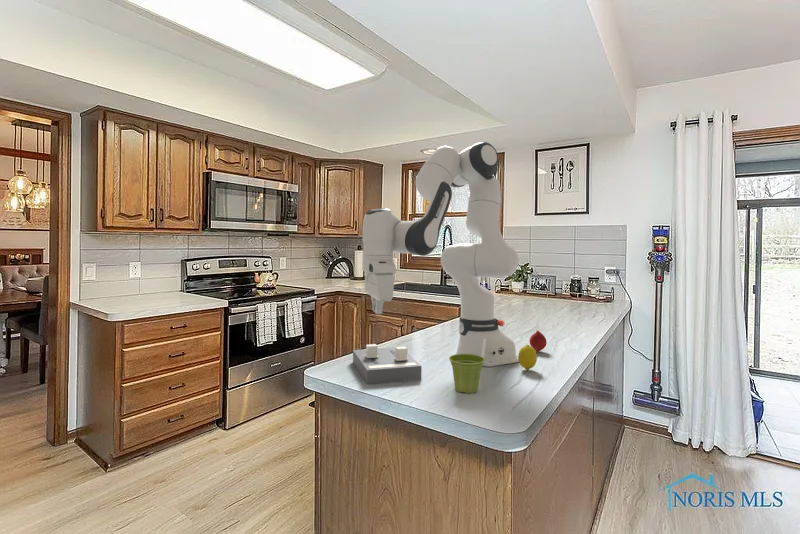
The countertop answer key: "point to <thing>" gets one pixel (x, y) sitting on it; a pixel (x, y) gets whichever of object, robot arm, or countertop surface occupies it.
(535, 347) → the onion
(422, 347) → the countertop surface
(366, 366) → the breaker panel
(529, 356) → the lemon
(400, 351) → the block
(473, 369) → the plant pot
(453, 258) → the robot arm
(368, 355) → the block
